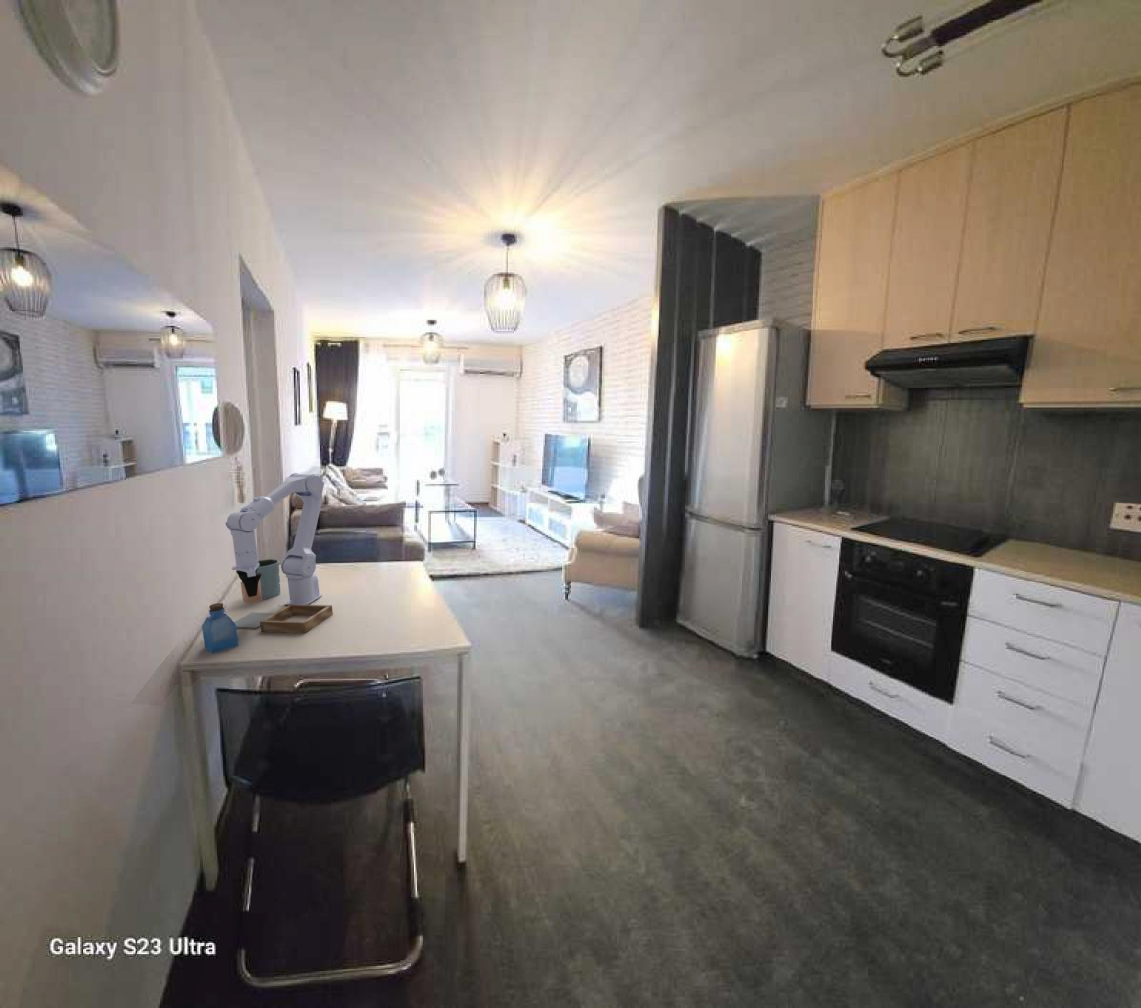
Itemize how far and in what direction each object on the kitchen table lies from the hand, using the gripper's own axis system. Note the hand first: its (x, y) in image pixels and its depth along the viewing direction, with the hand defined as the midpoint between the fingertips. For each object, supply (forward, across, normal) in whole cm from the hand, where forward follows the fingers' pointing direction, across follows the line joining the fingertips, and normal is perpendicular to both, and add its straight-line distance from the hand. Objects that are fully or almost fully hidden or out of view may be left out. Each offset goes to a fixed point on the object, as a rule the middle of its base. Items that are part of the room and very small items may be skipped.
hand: (251, 593), depth 153 cm
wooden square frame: (+9, +10, +10) cm, 17 cm away
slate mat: (+9, 0, 0) cm, 9 cm away
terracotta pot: (+2, 0, 0) cm, 2 cm away
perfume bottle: (+9, +14, -10) cm, 20 cm away
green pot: (+9, -24, +7) cm, 27 cm away
